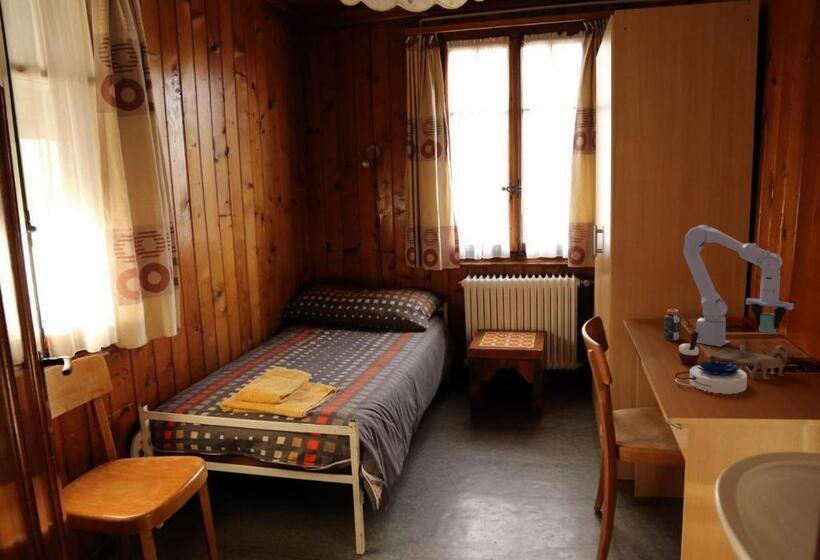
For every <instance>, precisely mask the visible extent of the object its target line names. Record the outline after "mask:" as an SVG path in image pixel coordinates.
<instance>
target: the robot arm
mask: <svg viewBox="0 0 820 560" xmlns="http://www.w3.org/2000/svg"><path fill="white" fill-rule="evenodd" d="M710 243H711V244H712V243H713V244H714V243H717V244H720V245H722V246H723V247H726V248H727V249H730V250H733V251H735V252H737V253H738V255H739V257H740V258H742V259H743V260H745V261H747V262H749V263H750V264H751V263H752V264H754V265H756V266H759V267H760V269H761V276H760V288H759V289H760V292H759V298H751V297H748V298H746V299H745V305H751V306H750V310H751V311H752V314H753V316H754V319H755V321H756V326H757V327H759V325H760V314H761V313H764V307H767V308H768V307H769V308H774V310H773V314H775V323H774V329H776V330H777V329H779V328H780V325H781V321H782V320H783V317H784V316H785V314H786V312H787V311H792V310H793V309H794V303H792V302H791V303H790V302H786V301H781V300H780V287H781V286H780V285H781V276H780V275H781V268H782V265H783V258H782V257H781V256H780V255H779V254H778V253H776V252H771V250H765V249H763V248H761V247H759V246H758V244H757V243H755V242H751V243H750V242H748V243H742V242H741V241H739V240H737V239H735V238H733V237H732V236H729V235H728V234H726V233H725V232H724V233H723V232H722V231H720V230H718V229H716V228H715V227H710V226H709V225H707V224H700V225H698V226H695V227H691V228H690V229H689V230H688V231H687V233H686V234H685V236H684V244H683V251H682V254H683V256H684V258H685V261H686V264H687V265H688V269H689V271H690V273H691V275H692V279H693V280H694V282H695V285H696V287H697V289H698V292H699V295H700V297H701V306H702V316H703V317H699V318H698V319H697V321H696V323H695V332H698V333H699V334H698V338H697V342H696V344H703V345H709V346H714V347H719V348H721V347H722V346H724V345H727V344H729V343H730V340H726V328H727V327H726V321H727V319H726V316H725V314H727V312H728V307H729V306H728V305H727V303H726V302H725V301H724V300H723V299H722V296H721V295H720V294H719V293H718V292H717V291H716V289H715V286H714V284H713V282H712V279H711V277H710V274H709V272H708V270H707V267H706V265H705V263H704V261H703V258H702V256H701V254H700V253H701V250H702V248H703V247H704V245H705V244H710Z"/></svg>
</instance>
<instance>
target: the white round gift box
mask: <svg viewBox="0 0 820 560" xmlns="http://www.w3.org/2000/svg"><path fill="white" fill-rule="evenodd" d="M697 362H698V363H697V365H694V366H692V367H691V368H690V369H689V371H682V372H678V373H676V374H674V375H675V376H674V377H675V379H674V381H675V382H676V384H679V385H682V386H690V387H693V386H694V387H693V388H695V387H696V388H695V389H697V388H698V389H697V390H699V389H701V390H700V391H702V390H704V391H703V392H706V391H708V392H707V393H711V392H713V393H712V394H718V393H722V394H721V395H731V394H733V393H734V394H739V392H740V393H742V392H744V391H746V390H747V387H748V386H747V383H748V375H747V373H746V372H745V371H744V370H742V369H741V368H742V366H736V364H732V363H731V362H726V361H725V362H722V361H721V360H718V362H717V361H716V360H715V359H711V360H710V361H709V362H708V361H706V360H705V361H703V360H702V362H700V361H697ZM682 374H688V375H689V377H680V376H679V377H678V375H682ZM678 380H687V381H689V383H688V384H687V383H682V382H680V381H678Z"/></svg>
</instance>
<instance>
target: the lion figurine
mask: <svg viewBox="0 0 820 560" xmlns="http://www.w3.org/2000/svg"><path fill="white" fill-rule="evenodd" d="M773 349H774V350H773V352H772V353H773V354H772V355H770V356H771V357H759V358H758V359H756V362H755V366H754V367H752V370H751V371H750V378H751V379H752V380H755V379H757V378H756V376H757V375H756V373H757V372H756V371H758V370H759V369H761V371H762V373H761V374H762V377H763V378H764V379H765V380H767V381H768V380H769V381H770V377H769V376H767V371H768V369H770V372H769V373H770V374H771V375H775V368H778V376H779V377H784V374H783V370H784V366H785V365H787V362H788V358H789V350H788V348H786V346H785V345H784V346H783V345H777V346H774V348H773ZM759 367H761V368H759Z"/></svg>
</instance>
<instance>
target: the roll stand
mask: <svg viewBox="0 0 820 560" xmlns="http://www.w3.org/2000/svg"><path fill="white" fill-rule="evenodd" d="M771 356H772V355H769V354H768V355H767V354H761V353H756V352H753V351H746V346H745V345H744V344H741V345H740V346H739V349H736V348H731V347H725V348H722V349H721V350H718V351H717V352H714V353H713V354H711V355H710V356H709V357H710V359H711V360H715V361H716V360H717V361H721V362H722V361H723V362H725V363H726V362H731V364H735V365H736V364H737V365H740V366H745V367H746V366H747V367H751V368H754V366H755V362H756V359H758V358H759V357H771ZM758 369H761V367H759V368H758Z"/></svg>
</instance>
